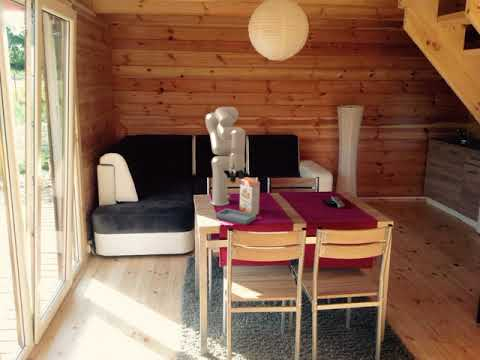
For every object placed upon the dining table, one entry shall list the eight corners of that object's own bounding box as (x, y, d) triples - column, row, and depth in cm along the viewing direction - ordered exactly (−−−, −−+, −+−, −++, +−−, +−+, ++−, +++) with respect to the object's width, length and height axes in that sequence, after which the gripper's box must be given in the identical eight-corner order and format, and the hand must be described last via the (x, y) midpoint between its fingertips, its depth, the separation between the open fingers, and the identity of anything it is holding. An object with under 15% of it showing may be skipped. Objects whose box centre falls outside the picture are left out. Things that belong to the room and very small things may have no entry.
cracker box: (238, 209, 286) (239, 177, 281) (246, 208, 289) (248, 176, 284) (250, 216, 275) (252, 182, 270) (259, 214, 278) (260, 181, 273)
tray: (226, 213, 279) (226, 208, 278) (255, 219, 269) (255, 214, 268) (215, 218, 269) (215, 213, 269) (245, 224, 259) (246, 219, 259)
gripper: (240, 148, 268) (239, 176, 273) (224, 152, 254) (223, 182, 258) (251, 149, 265) (250, 178, 269) (235, 153, 250) (234, 184, 254)
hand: (237, 180), depth 263 cm, fingers open, 8 cm apart
